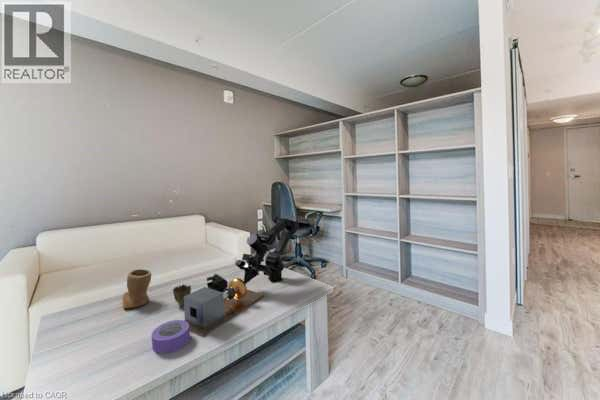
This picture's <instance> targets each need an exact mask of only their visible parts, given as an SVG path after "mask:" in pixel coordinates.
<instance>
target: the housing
mask: <svg viewBox="0 0 600 400" xmlns="http://www.w3.org/2000/svg"><path fill="white" fill-rule="evenodd" d="M223 292H224V291H223ZM223 292H219V291H216V290H213V289H210V288H208V287H207V286H206V287H205V286H203V287H201V288H200V289H198V290H195V291H193V292H191V294H188V295H186V296H184V306H183V307H184V309H183V310H184V311H183V312H184V319H183V320H184V321H186V322H188V324H189V332H192V333H194V334H196V335H198V336H200V337H202V338H204V337H205V336H206V335H208V334H210V333H211V332H213V331H214V330H215V329H217V328H218V327H220V326H222V325H223V324H225V323H226V322H227V321H230V320H231V319H232V318H234V317H235V316H237V315H238V314H240V313H242V312H243V311H244V310H246V309H247V308H249V307H250V306H253V304H255V303H256V302H258V301H259V300H261V299H263V298H264V297H265V294H264V293H261V292H257V291H254V290H250V289H247V293H246V295H245V296H244V297H243V298H241V299H239V300H237V299H234V298H232V299H230V300H227V299H225V300H224V298H223Z"/></svg>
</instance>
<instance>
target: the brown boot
mask: <svg viewBox="0 0 600 400" xmlns="http://www.w3.org/2000/svg"><path fill="white" fill-rule="evenodd" d="M151 279H152V272H151V271H150V270H149V269H143V268H138V269H137V268H136V269H133V270H131V271H129V273H128V274H127V279H126V287H127V291H126V292H124V293H123V295H122V302H121V303H122V307H123V308H125V309H131V308H133V309H134V308H136V307H140V306H144V305H145V304H147V302H148V299H149V298H148V297H149V296H148V294H147V293H148V292H147V291H148V288H149V285H150V283H151Z"/></svg>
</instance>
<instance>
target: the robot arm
mask: <svg viewBox="0 0 600 400" xmlns="http://www.w3.org/2000/svg"><path fill="white" fill-rule="evenodd" d="M299 227H300V224H299V222H298V221H297V220H291V219H290V218H285V217H283V218H282V217H281V218H280V220H278V222H276V223H275V224H274V225H273V227H271V228H270V229H269V230H268V229H267V230H266V231H263V232H262V233H261V234H260V235H259V233H257V232H254V233H253V234H252V235H249V237H247V238H246V244H247V245H248V246H249V247H250V248H251V249H252V250H253V252H251V253H249V254H247V253H243V254H242V257H241V259H237V260H236V261H235V263H234V265H235V266H236V267H238V268H239V269H240V270H242V271H244V275H243V281H244V283H245V284H246V285H247V284H248V283H249V282H251V280H253V279H254V278H255V277H257V276H259V275H260V272H262V273H263V275H264V276H267V279H268V280H269V281H270V282H271V283H276V282H281V281H283V280H284V279H283V277H282V273H283V272H282V271H283V270H284V269H285V264H284V263H283V257H282V255H283V254H284V251H285V249H286V248H287V245H288V244H289V240H290V239H291V237H292V235H294V234H296V232H297V231H298V229H299ZM282 231H283V233H282V234H281V237H280V239H279V240H278V243H277V244H276V246H275V248H274V250H273V251H270V247H269V246H271V245H273V244H274V243H275V242H276V240H277V236H278V235H279V234H280V233H281V232H282ZM267 245H268V246H267ZM267 252H268V254H267ZM265 255H267V256H266V257H265ZM264 258H265V259H264ZM262 263H264V264H265V265H264V264H262Z"/></svg>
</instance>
